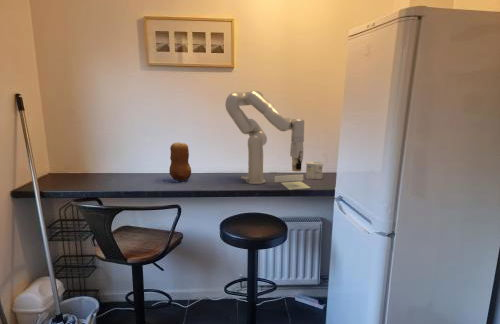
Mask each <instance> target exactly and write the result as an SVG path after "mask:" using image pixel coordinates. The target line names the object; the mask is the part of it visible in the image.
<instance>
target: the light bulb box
mask: <svg viewBox="0 0 500 324" xmlns="http://www.w3.org/2000/svg"><path fill="white" fill-rule="evenodd" d="M305 165H306V167H305V178H306V180H309V179H310V180H322V179H323V162H321V161H306V163H305Z"/></svg>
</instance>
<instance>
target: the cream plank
mask: <svg viewBox="0 0 500 324" xmlns="http://www.w3.org/2000/svg"><path fill="white" fill-rule="evenodd" d="M303 181H304V174H289V175H275V176H274V183H285V182H303Z"/></svg>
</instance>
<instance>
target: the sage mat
mask: <svg viewBox="0 0 500 324" xmlns="http://www.w3.org/2000/svg"><path fill="white" fill-rule="evenodd" d="M280 184H281V185H282V186H284V188H286V189H288V190H289V191H290V190H291V191H292V190H305V189H311V187H310V186H309V185H307V184H306V183H304V182H303V181H288V182H280Z"/></svg>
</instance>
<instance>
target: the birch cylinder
mask: <svg viewBox="0 0 500 324" xmlns="http://www.w3.org/2000/svg"><path fill="white" fill-rule="evenodd" d="M298 158H300V157H298ZM298 160H299V159H298ZM296 163H297V159H295V158H293V163H292V162H291V164H292V165H291V170H292V171H293V172H297V173H298V172H302V168H301V169H300V170H296Z"/></svg>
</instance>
